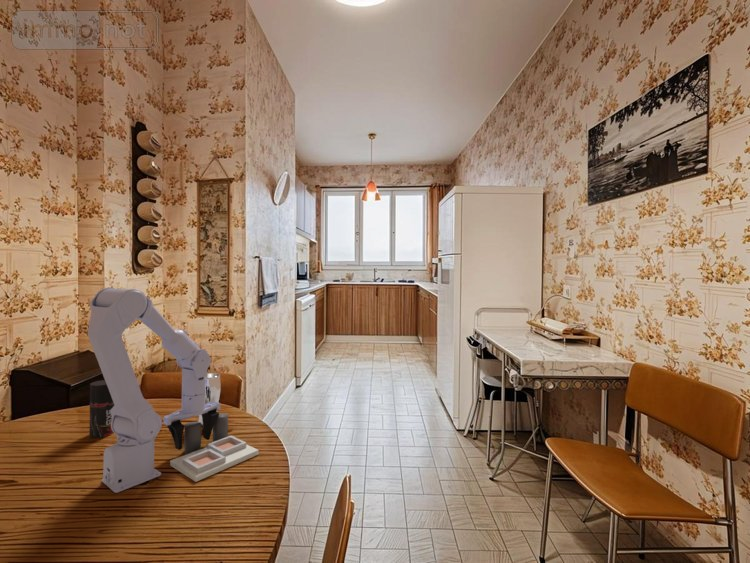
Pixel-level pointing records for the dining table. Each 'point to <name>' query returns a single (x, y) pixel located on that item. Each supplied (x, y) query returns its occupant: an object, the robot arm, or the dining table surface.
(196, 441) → the peg
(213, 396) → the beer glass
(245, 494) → the dining table surface
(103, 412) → the deodorant
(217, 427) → the peg
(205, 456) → the board
